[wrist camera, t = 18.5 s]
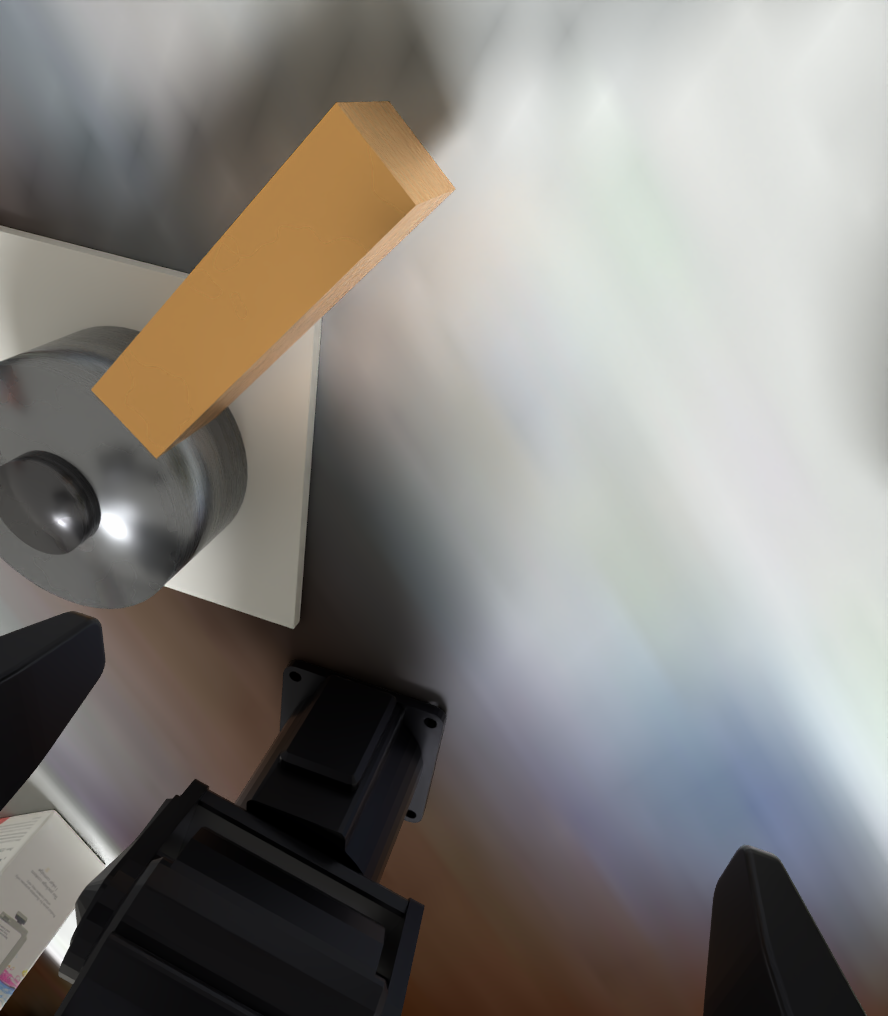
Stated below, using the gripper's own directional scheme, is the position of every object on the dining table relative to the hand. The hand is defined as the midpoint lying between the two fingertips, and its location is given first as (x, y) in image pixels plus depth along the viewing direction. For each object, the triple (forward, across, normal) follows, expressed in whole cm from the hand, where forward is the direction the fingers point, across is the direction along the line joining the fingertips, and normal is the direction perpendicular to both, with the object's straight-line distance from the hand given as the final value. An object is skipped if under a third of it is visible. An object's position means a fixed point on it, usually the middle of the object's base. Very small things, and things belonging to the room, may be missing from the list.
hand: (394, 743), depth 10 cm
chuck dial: (+12, +10, +1) cm, 16 cm away
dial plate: (+13, +13, +5) cm, 19 cm away
